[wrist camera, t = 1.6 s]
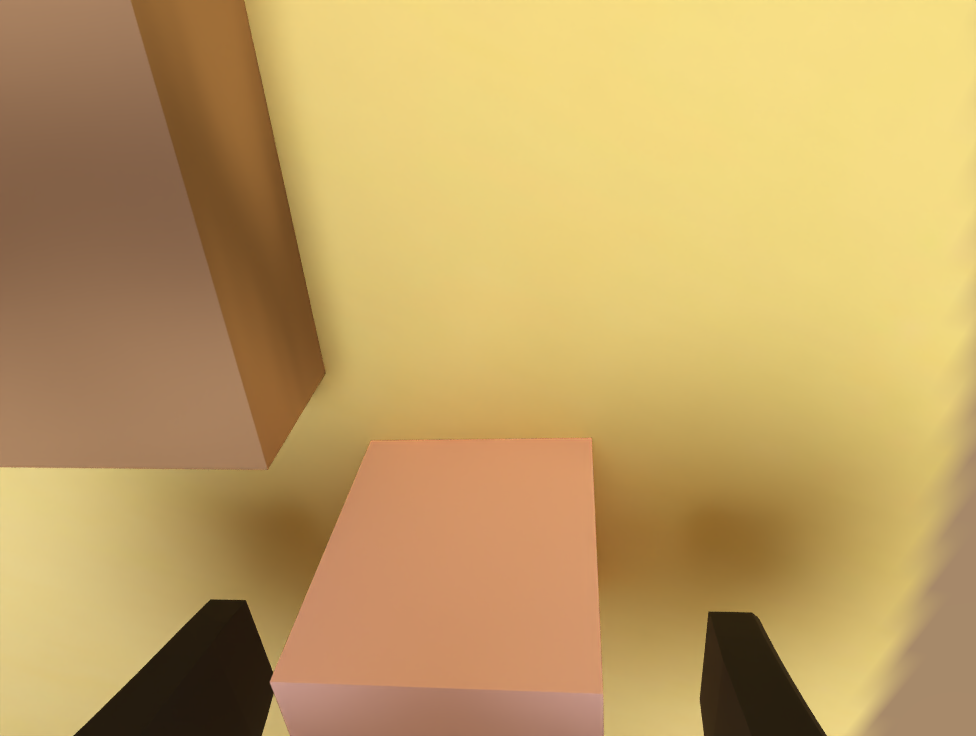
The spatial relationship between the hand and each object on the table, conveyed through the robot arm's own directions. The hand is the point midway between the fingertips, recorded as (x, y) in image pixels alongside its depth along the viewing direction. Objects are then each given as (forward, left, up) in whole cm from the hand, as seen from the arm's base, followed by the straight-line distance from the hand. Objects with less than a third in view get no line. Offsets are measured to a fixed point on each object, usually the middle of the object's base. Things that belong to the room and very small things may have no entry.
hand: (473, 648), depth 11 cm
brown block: (+7, +6, -3) cm, 10 cm away
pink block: (0, 0, -3) cm, 3 cm away
